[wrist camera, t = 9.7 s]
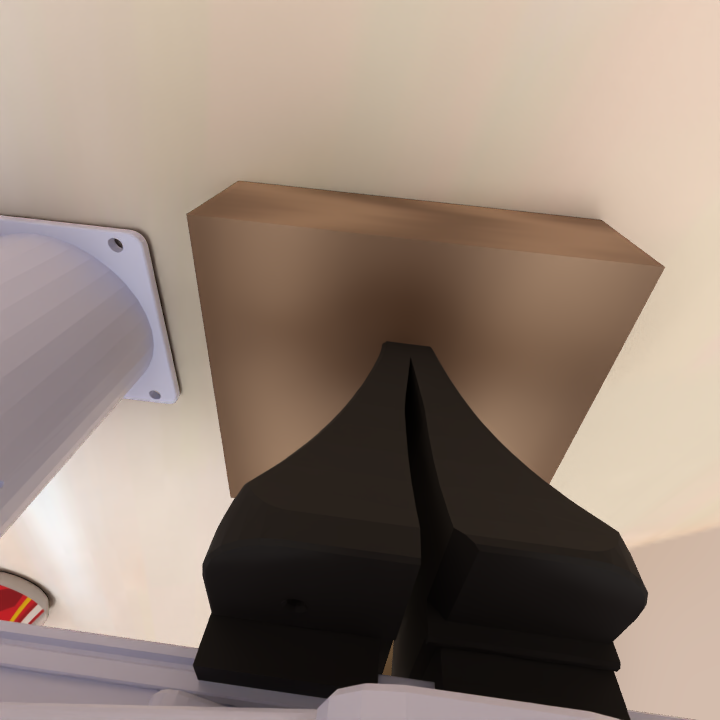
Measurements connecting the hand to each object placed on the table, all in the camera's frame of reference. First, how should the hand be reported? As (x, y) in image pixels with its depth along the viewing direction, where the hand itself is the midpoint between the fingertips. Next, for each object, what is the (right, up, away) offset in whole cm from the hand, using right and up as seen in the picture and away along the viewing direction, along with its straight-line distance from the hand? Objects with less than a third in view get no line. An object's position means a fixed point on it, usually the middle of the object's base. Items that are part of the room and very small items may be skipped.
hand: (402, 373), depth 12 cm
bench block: (0, +1, +5) cm, 5 cm away
